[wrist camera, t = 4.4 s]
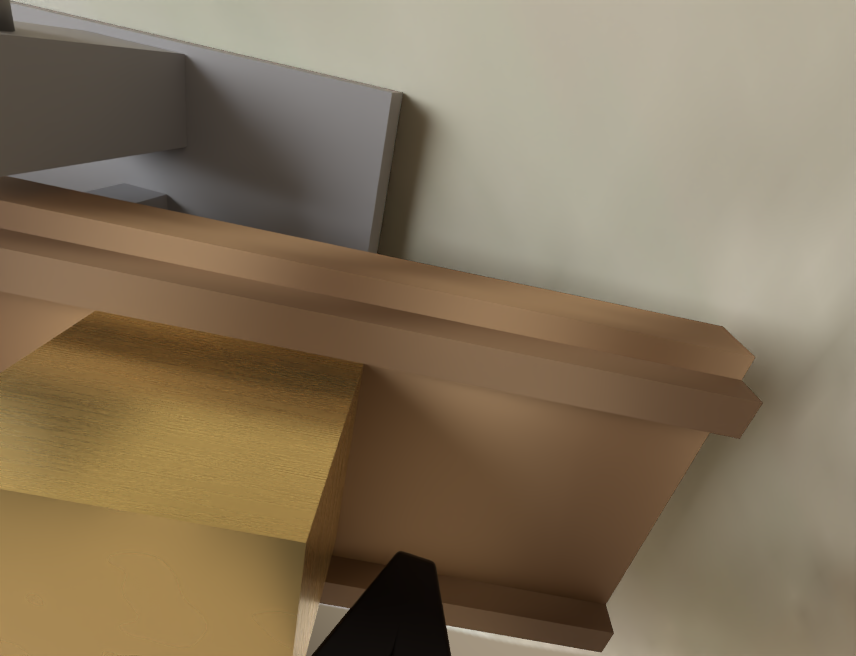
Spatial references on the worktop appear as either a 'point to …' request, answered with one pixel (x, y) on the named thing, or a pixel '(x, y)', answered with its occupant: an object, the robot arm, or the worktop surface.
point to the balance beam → (419, 394)
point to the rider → (168, 492)
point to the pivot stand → (193, 128)
